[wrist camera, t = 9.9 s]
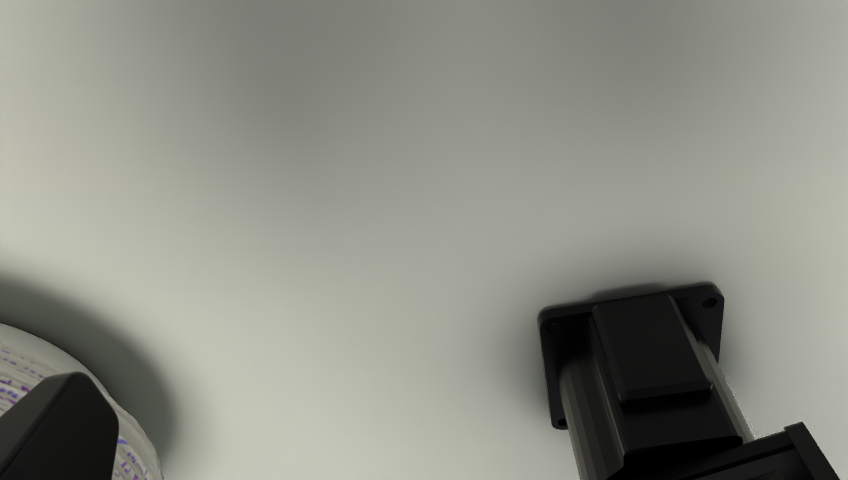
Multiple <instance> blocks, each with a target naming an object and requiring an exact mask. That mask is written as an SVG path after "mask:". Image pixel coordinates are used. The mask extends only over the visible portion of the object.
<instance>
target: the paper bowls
mask: <svg viewBox="0 0 848 480" xmlns="http://www.w3.org/2000/svg"><path fill="white" fill-rule="evenodd" d="M74 371H80V372H84V373H85V374H87V375H89V376H90V377H91V379H92V380H93V381H94V383H95V384H96V385H97V387H98V388H99V390H100V391H101V392H102V394H103V395H104V396H105V398H106V399H107V401H108V402H109V403H110V405H111V406H112V407H113V409H114V410H115V412H116V414H117V417H118V421H119V437H118V444H117V450H116V456H115V463H114V469H113V475H112V480H164V476H163V474H162V468H161V464H160V462H159V459H158V456H157V453H156V451H155V449H154V446H153V445H152V443H151V442H150V440H149V439H148V438H147V436H146V434H145V432H144V431H143V429H142V428H141V427H140V426H139V424H138V422H137V420H136V419H135V418H133V417H132V416H131V415H129V414H128V413H127V412H126V411H125V410H124V409H122V408H121V407H120V406H119V405H117V403H116V402H115V401H114V400H112V398H111V397H110V395H109V394H108V392H107V391H106V389H105V388H104V386H103V385H102V384H101V383H100V382H99V380H98V379H97V378H96V377H95V376H94V375H93V374H92V373H91V372H90V371H89V370H88V369H87V368H86V367H84V366H83V365H82V364H81V363H80V362H79V361H77V360H76V359H74V358H73V357H72V356H70V355H69V354H67V353H66V352H64V351H63V350H61V349H60V348H58V347H56V346H54V345H53V344H51V343H49V342H47V341H45V340H43V339H41V338H39V337H36V336H34V335H32V334H30V333H27V332H25V331H22V330H20V329H17V328H14V327H11V326H8V325H5V324H1V323H0V416H2V415H3V414H4V413H5V412H6V411H7V410H8V409H10V408H11V407H12V406H13V405H14V404H15V403H17V402H18V401H19V400H20V399H21V398H22V397H23V396H25V395H26V394H27V393H28V392H29V391H30V390H31V389H33V388H34V387H35V386H36V385H37V384H38V383H40V382H41V381H42V380H43V379H44V378H46V377H48V376H51V375H55V374H62V373H68V372H74Z"/></svg>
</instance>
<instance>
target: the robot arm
mask: <svg viewBox="0 0 848 480" xmlns="http://www.w3.org/2000/svg"><path fill="white" fill-rule="evenodd" d="M708 298H710V299H709V300H706V299H708ZM705 300H706V301H705ZM723 310H724V297H723V295H722V293H721V291H720V290H719V289H718V288H717V287H716V286H713V285H704V286H698V287H692V288H685V289H679V290H673V291H666V292H660V293H654V294H647V295H641V296H635V297H628V298H622V299H616V300H609V301H603V302H597V303H590V304H584V305H578V306H571V307H565V308H559V309H552V310H548V311H545V312H544V313H542V314H541V315H540V316H539V318H538V327H539V335H540V342H541V350H542V358H543V366H544V373H545V381H546V389H547V396H548V404H549V412H550V418H551V423H552V426H553V427H554V428H556V429H559V430H566V429H569V434H570V438H571V442H572V447H573V451H574V455H575V459H576V464H577V468H578V472H579V476H580V480H840V479H839V477H838V476H837V474H836V473H835V471H834V470H833V468H832V467H831V465H830V464H829V462H828V460H827V459H826V457H825V456H824V454H823V453H822V451H821V450H820V448H819V446H818V445H817V443H816V442H815V440H814V439H813V437H812V436H811V434H810V433H809V431H808V429H807V428H806V426H805V425H804V423H803V422H799V423H796V424H793V425H790V426H787V427H784V430H785V431H782V432H778V433H775V434H772V435H769V436H766V437H763V438H760V439H756V440H755V439H754V437H753V435H752V433H751V431H750V429H749V427H748V425H747V423H746V421H745V419H744V417H743V415H742V413H741V411H740V409H739V407H738V405H737V403H736V401H735V399H734V396H733V394H732V392H731V390H730V388H729V386H728V384H727V382H726V380H725V378H724V376H723V374H722V372H721V370H720V368H719V366H718V360H719V350H720V340H721V330H722V320H723ZM552 322H557V323H555V324H553V325H548V324H550V323H552ZM118 437H119V421H118V417H117V414H116V412H115V410H114V409H113V407H112V406H111V405H110V403H109V402H108V401H107V399H106V398H105V396H104V395H103V394H102V392H101V391H100V390H99V388H98V387H97V385H96V384H95V383H94V381H93V380H92V379H91V377H90V376H89V375H87V374H85V373H84V372H80V371H74V372H68V373H62V374H55V375H51V376H48V377H46V378H44V379H43V380H42V381H41V382H40V383H38V384H37V385H36V386H35V387H34V388H33V389H31V390H30V391H29V392H28V393H27V394H26V395H25V396H23V397H22V398H21V399H20V400H19V401H18V402H17V403H15V404H14V405H13V406H12V407H11V408H10V409H8V410H7V411H6V412H5V413H4V414H3V415H2V416H0V480H112V475H113V469H114V463H115V456H116V450H117V444H118Z"/></svg>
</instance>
